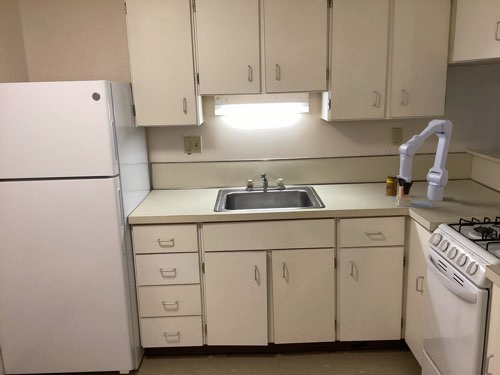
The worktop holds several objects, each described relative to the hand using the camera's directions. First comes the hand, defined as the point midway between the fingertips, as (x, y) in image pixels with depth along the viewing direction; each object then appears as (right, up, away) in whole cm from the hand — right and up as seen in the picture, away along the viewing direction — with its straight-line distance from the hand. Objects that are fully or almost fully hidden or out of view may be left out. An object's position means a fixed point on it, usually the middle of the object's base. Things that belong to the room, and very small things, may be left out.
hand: (404, 193), depth 221 cm
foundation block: (0, -6, +1) cm, 6 cm away
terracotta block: (0, -2, 0) cm, 2 cm away
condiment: (+1, -3, +22) cm, 22 cm away
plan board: (+5, -7, +1) cm, 9 cm away
